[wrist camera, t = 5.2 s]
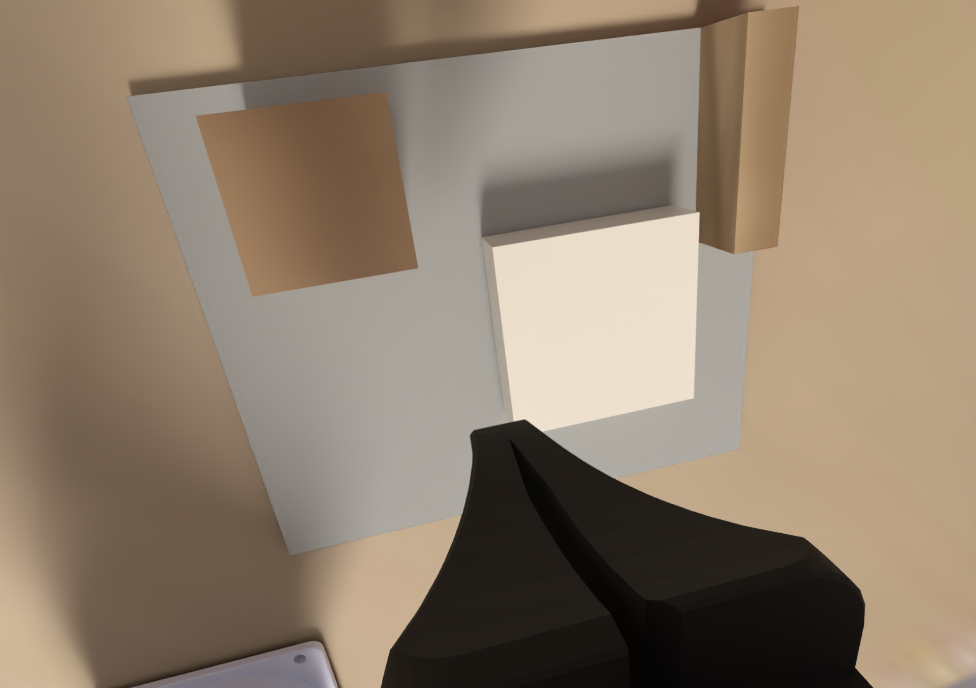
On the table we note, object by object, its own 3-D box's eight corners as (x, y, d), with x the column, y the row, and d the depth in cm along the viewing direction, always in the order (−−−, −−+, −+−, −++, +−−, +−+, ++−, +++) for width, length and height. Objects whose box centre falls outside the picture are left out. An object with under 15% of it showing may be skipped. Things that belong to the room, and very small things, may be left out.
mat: (291, 548, 22) (289, 555, 22) (132, 97, 15) (125, 96, 15) (733, 444, 25) (739, 449, 24) (762, 21, 18) (770, 19, 18)
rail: (694, 241, 20) (734, 254, 18) (700, 27, 17) (747, 12, 15) (733, 234, 20) (777, 246, 18) (745, 22, 17) (798, 6, 15)
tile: (515, 437, 19) (693, 398, 20) (492, 247, 16) (699, 212, 17) (503, 411, 21) (668, 376, 22) (481, 236, 18) (669, 204, 19)
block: (284, 253, 17) (252, 296, 13) (247, 120, 16) (195, 115, 11) (407, 233, 18) (418, 268, 13) (383, 103, 16) (386, 91, 12)
